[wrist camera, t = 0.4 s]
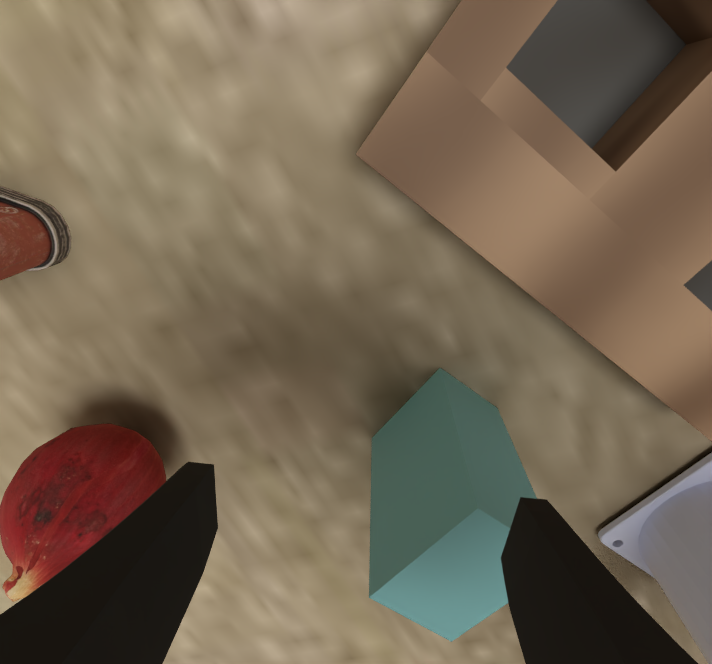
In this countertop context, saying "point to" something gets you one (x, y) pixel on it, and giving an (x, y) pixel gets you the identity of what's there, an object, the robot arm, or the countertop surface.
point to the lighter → (30, 234)
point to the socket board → (576, 169)
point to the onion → (72, 499)
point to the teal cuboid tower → (443, 507)
